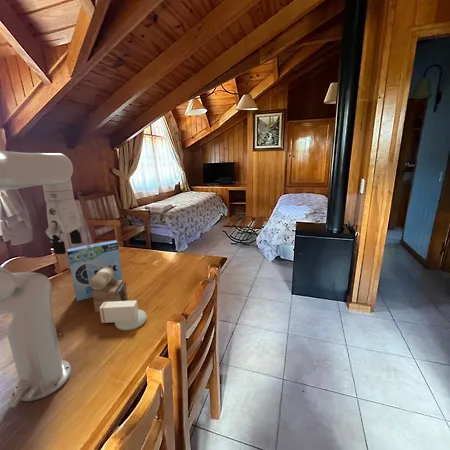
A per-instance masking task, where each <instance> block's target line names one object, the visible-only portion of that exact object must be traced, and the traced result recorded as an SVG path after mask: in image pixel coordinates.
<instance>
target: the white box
mask: <svg viewBox="0 0 450 450" xmlns="http://www.w3.org/2000/svg"><path fill="white" fill-rule="evenodd" d="M99 309H100V312H99V314H100V321H101V323H102V324H105V323H106V324H107V323H115V322H126V321H136V319H137V317H138V309H139V307H138V300H136V299H135V300H121V301H113V302H103V304H102V305H101V307H100V308H99Z"/></svg>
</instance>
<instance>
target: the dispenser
mask: <svg viewBox="0 0 450 450" xmlns="http://www.w3.org/2000/svg"><path fill="white" fill-rule="evenodd" d="M113 277H114V270H113V269H112V268H110V267H107V266H106V267H102V268H101V269H100V270H99V271H98V272H97V273H96V274H95V275H94V276H93V278H92V279H91V280H90V285H91V287H92V288H93V291H92V295H93V297H92V301H93V308H94V312H99V313H100V309H99V308H100V307H101V305H102V304H103V302H113V301H127V299H128V297H129V296H128V291H127V284H126V283H127V282H126V281H124V279H123V280H115V279H112V278H113Z"/></svg>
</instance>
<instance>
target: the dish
mask: <svg viewBox="0 0 450 450" xmlns="http://www.w3.org/2000/svg"><path fill="white" fill-rule="evenodd" d="M146 322H147V312H146V311H145V310H142V309H140V308H138V317H137V319H136V321H126V322H114V325H115V328H116V329H117V330H120V331H132V330H136V329H138V328H140V327H142V326H143V325H144V324H145V323H146Z"/></svg>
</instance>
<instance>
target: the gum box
mask: <svg viewBox="0 0 450 450" xmlns="http://www.w3.org/2000/svg"><path fill="white" fill-rule="evenodd" d="M66 253H67V257H68V263H69V267H70V274H71V279H72V283H73V290H74V294H75V299H76V302H80V301H83V300H87V299H90V298H93V295H92V291H93V288H92V287H91V285H90V280H91V279H92V278H93V276H94V275H95V274H96V273H97V272H98V271H99V270H100V269H101V268H102V267H106V266H107V267H110V268H112V269H113V270H114V277H113V278H112V279H115V280H123V281H124V278H123V270H122V264H121V256H120V251H119V243H118V241H117V239H112V240H108V241H107V240H106V241H101V242H97V243H89V244H84V245H79V246H73V247H66Z"/></svg>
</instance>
